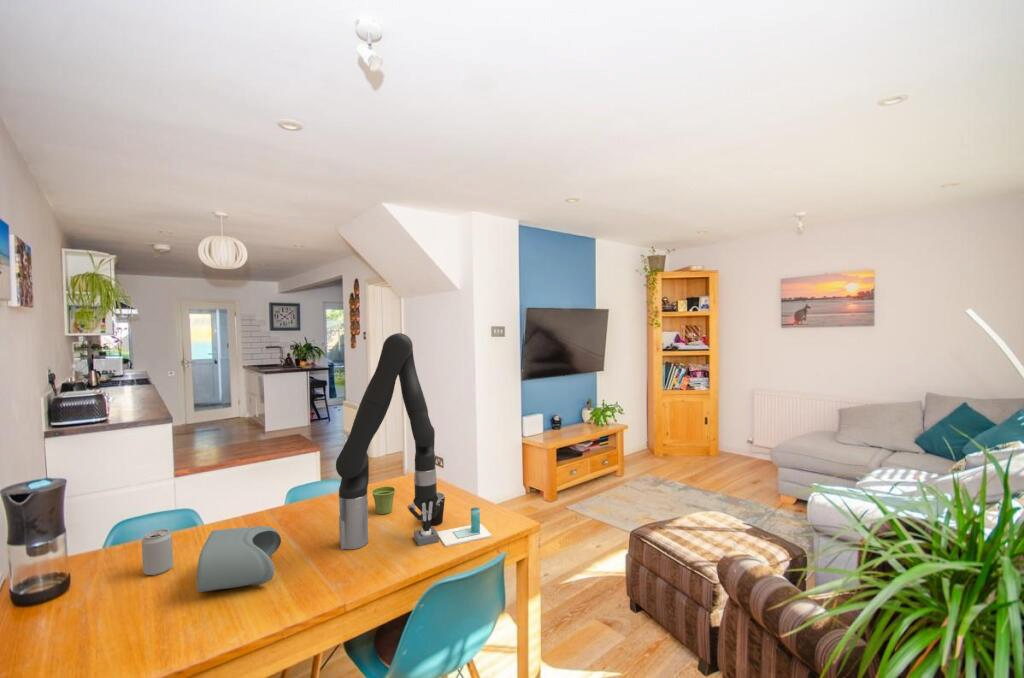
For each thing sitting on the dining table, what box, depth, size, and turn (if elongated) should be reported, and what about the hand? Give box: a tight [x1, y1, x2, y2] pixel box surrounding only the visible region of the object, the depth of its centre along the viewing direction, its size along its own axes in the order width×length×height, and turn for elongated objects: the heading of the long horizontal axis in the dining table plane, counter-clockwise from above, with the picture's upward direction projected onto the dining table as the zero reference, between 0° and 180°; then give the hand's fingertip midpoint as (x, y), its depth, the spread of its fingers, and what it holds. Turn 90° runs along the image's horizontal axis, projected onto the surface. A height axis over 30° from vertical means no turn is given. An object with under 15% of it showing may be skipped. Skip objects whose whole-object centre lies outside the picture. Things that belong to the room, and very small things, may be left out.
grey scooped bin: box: [196, 525, 282, 593], centre depth 144 cm, size 22×19×13 cm
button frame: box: [413, 526, 440, 547], centre depth 167 cm, size 7×7×2 cm
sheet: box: [436, 522, 493, 548], centre depth 170 cm, size 17×11×1 cm, turn 115°
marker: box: [470, 507, 481, 533], centre depth 171 cm, size 3×3×8 cm
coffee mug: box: [431, 491, 446, 527], centre depth 182 cm, size 12×9×10 cm
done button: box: [421, 528, 431, 537], centre depth 167 cm, size 4×4×3 cm
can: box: [141, 528, 174, 576], centre depth 147 cm, size 8×8×12 cm
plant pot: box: [371, 485, 397, 515], centre depth 191 cm, size 9×9×9 cm
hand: (426, 530), depth 166 cm, fingers closed
